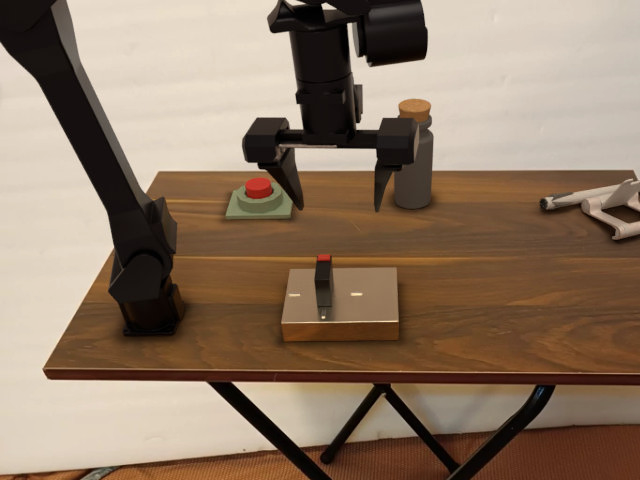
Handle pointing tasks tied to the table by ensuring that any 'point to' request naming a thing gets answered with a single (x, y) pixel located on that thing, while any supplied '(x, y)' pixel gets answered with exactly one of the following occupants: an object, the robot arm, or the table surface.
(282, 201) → the switch block
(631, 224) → the tablet stand
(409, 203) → the bottle
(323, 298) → the stove knob
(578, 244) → the table surface
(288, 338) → the panel
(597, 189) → the rocket model
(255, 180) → the button
